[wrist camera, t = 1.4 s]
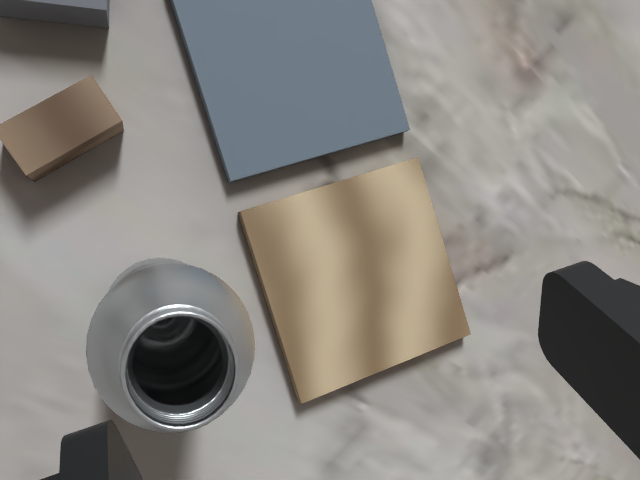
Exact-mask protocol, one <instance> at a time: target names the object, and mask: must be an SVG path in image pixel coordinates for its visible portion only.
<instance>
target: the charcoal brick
mask: <svg viewBox="0 0 640 480" xmlns="http://www.w3.org/2000/svg"><path fill="white" fill-rule="evenodd" d="M109 2H110V0H0V16H2V17H11V18H20V19H29V20H38V21H47V22H56V23H65V24H74V25H83V26H92V27H101V28H109Z"/></svg>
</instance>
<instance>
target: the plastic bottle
mask: <svg viewBox="0 0 640 480" xmlns="http://www.w3.org/2000/svg"><path fill="white" fill-rule="evenodd" d="M254 350H255V340H254V333H253V326H252V323H251V320H250V318H249V315H248V312H247V310H246V308H245V307H244V305H243V303H242V301H241V300H240V298H239V297H238V296H237V294H236V293H235V292H234V291H233V290H232V289H231V288H230V286H229V285H227V284H226V283H225V282H223V281H222V280H221V279H220V278H218V277H217V276H215V275H213V274H211V273H209V272H207V271H205V270H203V269H201V268H197V267H194V266H190V265H187V264H185V263H183V262H180V261H177V260H173V259H167V258H155V259H148V260H144V261H141V262H138V263H136V264H134V265H133V266H131V267H129V268H127V269H126V270H125V271H124V272H123V273H121V274H120V275H119V276H118V277H117V279H116V280H115V281H114V283H113V284H112V285H111V287H110V289H109V291H108V293H107V294H106V295H105V297H104V298H103V299H102V301H101V302H100V303H99V305H98V307H97V309H96V311H95V313H94V315H93V317H92V319H91V322H90V326H89V330H88V334H87V343H86V357H87V364H88V370H89V373H90V376H91V379H92V381H93V384H94V387H95V388H96V390H97V391H98V393H99V395H100V396H101V398H102V399H103V401H104V402H105V403H106V404H107V405H108V406H109V407H110V408H111V409H112V410H113V411H114V412H115V413H116V414H117V415H119V416H120V417H122V418H123V419H124V420H126V421H127V422H129V423H131V424H133V425H136V426H138V427H141V428H143V429H146V430H151V431H157V432H183V431H188V430H193V429H197V428H200V427H202V426H204V425H207V424H208V423H210V422H211V421H213V420H214V419H216V418H217V417H219V416H220V415H222V414H223V413H224V412H225V411H226V410H227V409H228V408H229V407H230V406H231V405H232V404H233V403H234V402H235V401H236V399H237V398H238V396H239V395H240V393H241V392H242V391H243V389H244V387H245V385H246V383H247V380H248V378H249V376H250V374H251V369H252V365H253V361H254Z"/></svg>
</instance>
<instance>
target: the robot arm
mask: <svg viewBox="0 0 640 480" xmlns="http://www.w3.org/2000/svg"><path fill="white" fill-rule="evenodd" d="M538 338H539V343H540V346H541V349H542V351H543V353H544V355H545V357H546V359H547V360H548V361H549V363H550V364H551V365H552V366H553V367H554V368H555V370H556V371H557V372H558V373H559V374H560V375H561V376H562V377H563V378H564V379H565V380H566V381H567V382H568V383H569V384H570V386H571V387H572V388H573V389H574V390H575V391H576V392H577V393H578V394H579V395H580V396H581V397H582V398H583V399H584V400H585V402H586V403H587V404H588V405H589V406H590V407H591V408H592V409H593V410H594V411H595V412H596V413H597V414H598V415H599V416H600V418H601V419H602V420H603V421H604V422H605V423H606V424H607V425H608V426H609V427H610V428H611V429H612V430H613V431H614V432H615V433H616V435H617V436H618V437H619V438H620V439H621V440H622V441H623V442H624V443H625V444H626V445H627V446H628V447H629V448H630V449H631V451H632V452H633V453H634V454H635V455H636V456H637V457H638V458H639V459H640V286H639V285H636V284H634V283H631V282H629V281H626V280H624V279H621V278H619V279H617V280H614V279H612V278H611V277H610V276H608V275H607V274H606V273H605V272H603V271H602V270H601V269H599V268H598V267H597V266H595V265H594V264H592V263H590V262H587V261H582V262H579V263H576V264H573V265H570V266H567V267H564V268H561V269H559V270H556V271H553V272H550V273H547V274H546V275H545V277H544V279H543V284H542V295H541V306H540V317H539V328H538ZM41 480H142V477H141V475H140V473H139V471H138V469H137V467H136V465H135V463H134V461H133V459H132V457H131V455H130V453H129V451H128V449H127V447H126V445H125V443H124V441H123V439H122V437H121V435H120V433H119V431H118V429H117V427H116V425H115V424H114V422H113V421H111V420H109V421H106V422H103V423H100V424H97V425H94V426H91V427H88V428H85V429H82V430H79V431H76V432H73V433H70V434H68V435H65V436H64V437H63V438H62V441H61V451H60V471H59V473H58V474H55V475H52V476H49V477H46V478H44V479H41Z"/></svg>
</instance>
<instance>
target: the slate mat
mask: <svg viewBox="0 0 640 480" xmlns="http://www.w3.org/2000/svg"><path fill="white" fill-rule="evenodd" d="M170 1H171V5H172V8H173V11H174V14H175V17H176V20H177V23H178V26H179V30H180V33H181V36H182V39H183V42H184V45H185V48H186V51H187V55H188V58H189V61H190V64H191V67H192V70H193V73H194V77H195V80H196V83H197V86H198V89H199V92H200V95H201V98H202V102H203V105H204V108H205V111H206V114H207V117H208V120H209V124H210V127H211V130H212V133H213V136H214V139H215V142H216V145H217V149H218V152H219V155H220V158H221V161H222V164H223V167H224V171H225V174H226V177H227V180H228V183H230V182H234V181H237V180H241V179H244V178H248V177H251V176H254V175H258V174H261V173H265V172H268V171H272V170H275V169H279V168H282V167H286V166H289V165H293V164H296V163H300V162H303V161H306V160H310V159H313V158H317V157H320V156H324V155H327V154H331V153H334V152H338V151H341V150H345V149H348V148H352V147H355V146H358V145H362V144H365V143H369V142H372V141H376V140H379V139H383V138H386V137H390V136H393V135H397V134H400V133H404V132H406V131H408V130H410V128H409V125H408V121H407V118H406V115H405V111H404V108H403V105H402V101H401V98H400V95H399V91H398V88H397V85H396V81H395V78H394V74H393V71H392V68H391V64H390V61H389V58H388V54H387V51H386V48H385V44H384V41H383V38H382V34H381V31H380V27H379V24H378V21H377V17H376V14H375V11H374V7H373V4H372V1H371V0H170Z"/></svg>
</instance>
